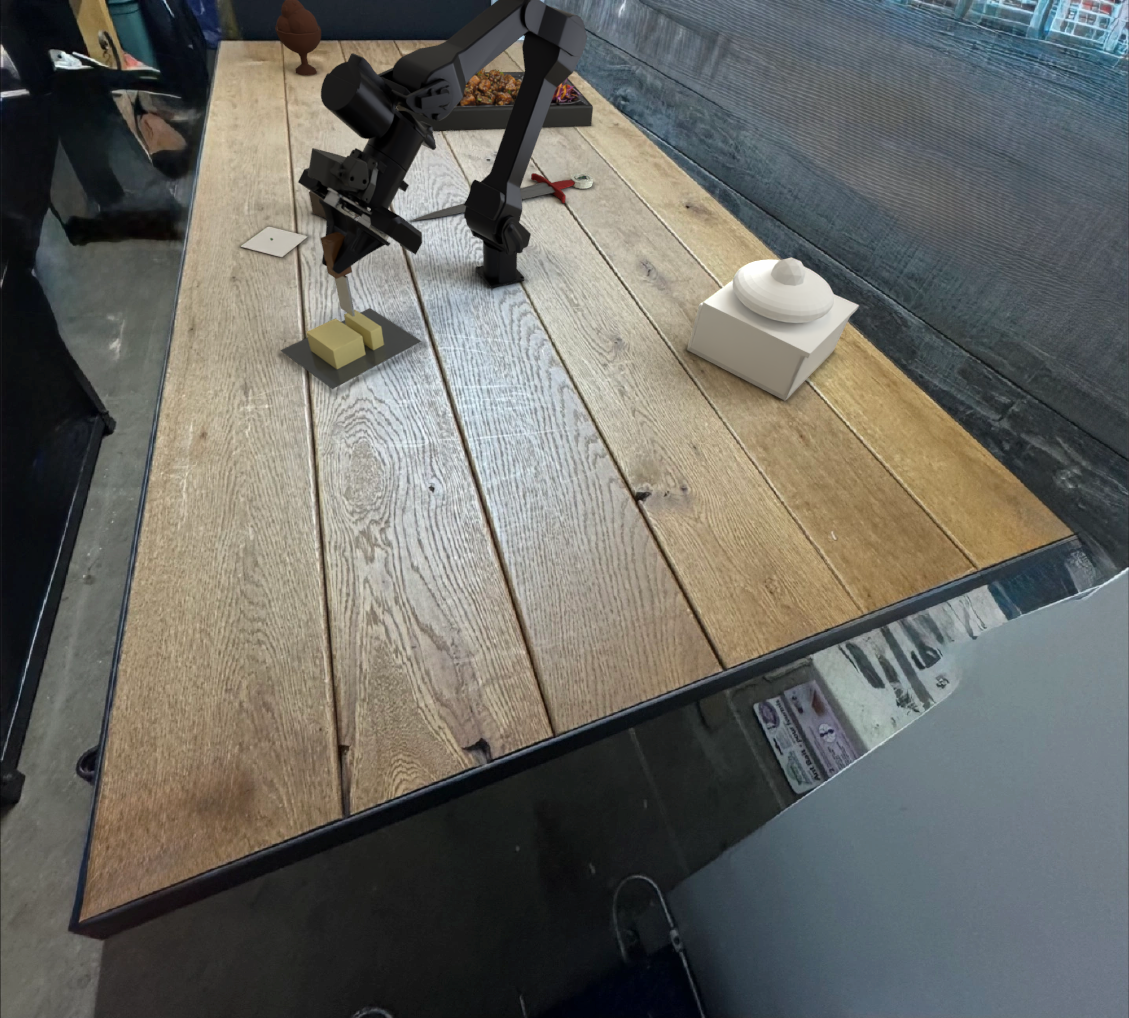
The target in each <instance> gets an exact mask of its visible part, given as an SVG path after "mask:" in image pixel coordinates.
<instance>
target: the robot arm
mask: <svg viewBox="0 0 1129 1018" xmlns="http://www.w3.org/2000/svg"><path fill="white" fill-rule="evenodd" d="M522 37H523V42H522V46H521V48H522V58H523V66H524V71H523V72H524V76H523V79H522V82H521V85H520V88H519V91H518V94H517V97H516V99H515V102H514V105H513V108H512V111H511V114H510V117H509V120H508V123H507V126H506V129H504V132H503V135H502V138H501V140H500V143H499V146H498V149H497V151H496V155H495V158H494V161H493V164H492V167H491V169H490V172H489V173H488V175H486V176H485V177H484V178H483V179H482V180H481V181H479V179H474V180H473V181H472V182H471V183H470V186H469V187H470V188H469V193H468V195H467V197H466V199H465V201H464V202H463V203H464V205H465V206H466V208H465V212H463V214H464V215H463V218H464V219H465V223H466V225H467V228H469V230H470V232H471V235H472V237H474V238H476V239H479V240H481V241H482V265H478V266H475V271H476V272H477V274H478V275H479V276H480V278H482V280H484V282H485V284H487V285H488V287H490V288H491V289H492V288H497V287H503V286H506V285H511V284H515V283H520V282H524V281H525V276H524V275H523V274H522V273H521V272H520V271H519V269H518V254H522V253H523V252H524V249H526V248H527V247H529V243H530V239H531V236H532V234H531V232H530V231H529V230H527V228H525V226H524V225H523V224H522V223H521V222H520V221H521V217H522V213H523V201H522V200H523V199H521V191H520V188H522V184H523V181H524V177H525V176H526V173H527V170H528V166H529V164H530V161H531V159H532V156H533V154H534V151H535V148H536V145H537V142H538V139H539V136H540V134H541V131H542V128H543V127H542V126H543V123H544V120H545V117H546V115H547V112H548V109H549V106H550V104H551V101H552V98H553V95H554V93H555V90H556V88H557V87H558V86H559V85H560V84H561V83H562V82H564V81H565V80H566V79H567V78H568V79H569V77H570V76H572V74H574V72H575V69H576V68H577V66H578V63H579V61H580V60H581V58H582V56H583V53H584V51H585V48H586V46H587V41H588V40H587V39H588V36H587V31H586V27H585V23H584V20H583V18H581V16H579V15H578V14H574V13H571V12H569V11H566V10H563V9H559V8H556V7H554V6H550V5H548V4H546V3H545V2H543V1H542V0H496V1H494V3H492V4H491V5H490V6H488V7H487V8H486V9H485V10H483V11H482V12H481V13H480V14H478V15H477V16H476V17H474V18H473V19H472V20H470V21H469V23H467V24H465V25H464V26H463V27H462V28H461V29H459V30H458V31H457V32H455V33H454V34H453V35H452V36H450V37H449V38H448V39H446V40H445V41H444V42H441V43H440V44H436V45H431V46H426V47H425V46H424V47H421V48H420V47H419V48H418V49H416V50H414V51H412V52H409V53H407V54H405V55H403V56H401V57H400V58H398V60H397V61H396V62H395V63H394V65H393V67H391V68H389V69H387V70H383V72H380V73H377V72H376V71H375V70H374V68H373V67H372V65H371V64H370V62H369V61H368V60H366V58H365V57H363V56H361V55H359V54H357V53H353V52H352V53H350V55H349V57H348V60H347V61H344V62H341V63H339V64H337V65H336V66H335V67H334V68H333V69H332V70H331V71H330V72H328V73H327V74H325V77H324V78H323V81H322V83H321V87H320V99H321V103H322V104H323V106H324V107H325V108H326V110H328V111H330V112H331V114H333V115H334V116H335V117H336V118H337V119H339V120H340V121H341V122H342V123H343V124H345V126H347V127H348V128H349V129H350V130H351V131H352V132H354V133H355V134H356V135H357V136H358V137H360V138H361V139H365V140H367V142H366V144H365V146H364V148H363V149H362V150H361V149H359V148H358V147H355V148H354V149H352V150H351V151H350V153H349V155H347V156H343V155H341V154H337V153H333V152H330V151H326V150H322V149H319V148H315V147H313V148H311V153H310V158H309V159H310V160H309V165H308V166H309V167H306V168H304V169H303V170H302V173H301V175H300V177H299V179H298V181H297V183H298V184H299V185H301V186H302V187H304V188H305V189H307V190H309V191H311V192H313V193H314V194H316V195H317V196H319V197H320V198H322V199H323V200H324V201H323V200H321V199H319V203H320V204H321V205H322V207H323V210H324V212H325V215H326V218H325V219H326V224H325V225H326V227H325V236H327V235H330V234H332V233H335V232H339V233H340V234H342V235H344V236H345V239H344V241H343V243H342V246H341V248H340V250H339V252H338V255H337V257H336V259H335V262H334V265H333V268H332V270H333V271H334V272H336V273H337V274H340V273H342V272H343V271H344V270H346V269H347V268H349V267H350V266H351V267H352V266H353V265H354V264H356V263H358V262H359V261H361V260H362V259H363V258H365V257H366V256H368V255H370V254H372V253H373V252H375V251H376V250H379V249H381V248H382V247H384V246H386V247H389V246H390V245H391V242H390V241H388V239H389V237H390V239H392V240H394V241H395V242H396V243H398V244H399V246H400V247H402V248H403V249H405V250H407V251H409V252H410V253H411V254H413V255H416V256H417V254H418V251H419V250H420V248H421V246H422V244H423V233H422V231H420V229H418V228H416V227H415V226H414V225H413V224H411V223H410V222H409V221H407V219H405V218H404V217H402V216H401V215H399V214H397V213H396V212H394V211H392V210H391V209H390V207H391V205H392V203H393V201H394V200H395V198H396V195H397V193H398V191H399V190H401V191H402V192H404V193H406V192H407V190H408V188H409V186H410V184H408V183H407V182H406V181H405V178H406V176H407V174H408V172H409V170H410V168H411V167H412V164H413V163H414V161H415V159H416V157H417V155H418V153H419V151H420V149H421V147H422V146H424V147H425V148H428V149H430V150H432V151H435V150H436V148H437V144H436V139H435V137H434V131H433V127H432V126H431V125H429V124H427V123H425V122H422V121H420V122H418V121H417V120H416V119H415V118H414V117H413V116H412V115H411V114H410V113H408V112H406V111H398V108H397V104H398V105H400V106H402V107H404V108H406V109H408V110H410V111H413V112H415V113H418V114H420V115H423V116H425V117H427V118H429V119H432V120H435V121H440V120H442V119H444V118H446V117H447V116H448V114H449V113H450V112H451V111H452V110H453V109H454V107H455V106H456V105H457V104H458V103H459V102H460V100H461V99H462V98H463V95H464V91H465V87H466V84H467V83H468V81H469V80H470V79H471V78H472V77H473V76H474V75H476V74H477V73H478V72H479V71H480V70H482V69H483V68H484V69H485V68H486V67H487V66H488V65H489V64H490V63H492V62H493V61H494V60H495V59H497V58H498V57H500V55H501V54H503V53H504V52H505V51H506V50H507V49H509V48H510V47H511V46H512V45H514V44H515V43H516V42H517V41H519V40H520V39H521V38H522ZM355 202H357V203H358V204H356V203H355ZM355 214H357V215H358V217H359V218H358V219H356V218H355ZM321 264H322V265H323V266H325V267H327V266H326V261H325V257H324V252H322V260H321Z"/></svg>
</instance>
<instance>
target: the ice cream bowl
mask: <svg viewBox="0 0 1129 1018" xmlns="http://www.w3.org/2000/svg"><path fill="white" fill-rule="evenodd" d="M280 10H281V13H280V15H279V16H278V18H277V19H276V25H274V28H275V32H276V34H277V35H276V36H277V37H278V39H279V40H280V42H281V44H283V46H285V47H286V48H287V49H288V50H290V51H291V52H292V53H293V52H294V53H296V54H298V56H299V58H300V64H299V65H297V66H296V67H295V70H294V71H295V74H297V75H299V76H314V75H317V74H318V71H317V68H316V67H314V66H313V65H312V64H310V63H309V61H308V54H310V53H311V52H313V51H315V49H317V48H318V46H319V44H320V43H321V39H322V28H321V26H320V25H319V24H318V21H317V19H316V17H315V15H314V14H313V13H312V12H311V11H310V10H308V9H306V8H305V7H304V5H303V4H302V3H301V2H300V1H299V0H284V1H283V2H282V4H281V8H280Z"/></svg>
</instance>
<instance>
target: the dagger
mask: <svg viewBox="0 0 1129 1018" xmlns="http://www.w3.org/2000/svg"><path fill="white" fill-rule="evenodd" d="M530 180H531V181H535V182H537V183H534V184H531V185H527V186H524V187H520V191H521V200H525V199H530V198H535V197H540V196H544V195H548V194H551V195H553V196H555V197H556V198H558V199H559V200H561V203H562V204H565V203H566V199H567V198H566V194H565V193H564V191H563V189H568V188H570V187H573V188H576V189H581V190H582V189H590V188H591V187H592V186H593V182H594V177H593V176H592V175H591V174H588V173H586V172H575V173H571V175H570V179H562V180H557V181H552V182H551V181H550V180H548V179H547V178H546V177H544V176H543V175H540V174H538V173H536V172H535V173H534V172H533V173H531V174H530ZM464 203H465V202H463V203H460V204H455V205H453V206H450V207H446V208H442V209H439V210H436V211H433V212H430V213H427V214H424V215H421V216H420V217H419V216H418V217H416V218H413V219H411V220H410V222H413V221H421V220H428V219H429V220H430V219H434V218H441V217H446V216H451V215H452V216H453V215H457V214H462V213H464V212H465V208H466V206H465V205H464Z"/></svg>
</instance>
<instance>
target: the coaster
mask: <svg viewBox="0 0 1129 1018" xmlns="http://www.w3.org/2000/svg"><path fill="white" fill-rule="evenodd" d="M308 237H309V236H308V235H305V234H300V233H296V232H292V231H289V230H284V229H280V228H277V227H272V226H267V227H265V228H264V229H262V230H261V231H260V232H258V233H257V234H256V235H254V236H252V238H250V239H249V240H247V241H246V242H244V243H243V244H242V245H240V247H241V248H245V249H249V250H253V251H255V252H260V253H264V254H268V255H272V256H276V257H279V258H283V257H284V256H285V255H287V254H288V253H289V252H290V251H292V250H293V249H294V248H295V247H297V246H298V245H299V244H301V243H302V242H303V241H304V240H306V239H307V238H308Z"/></svg>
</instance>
